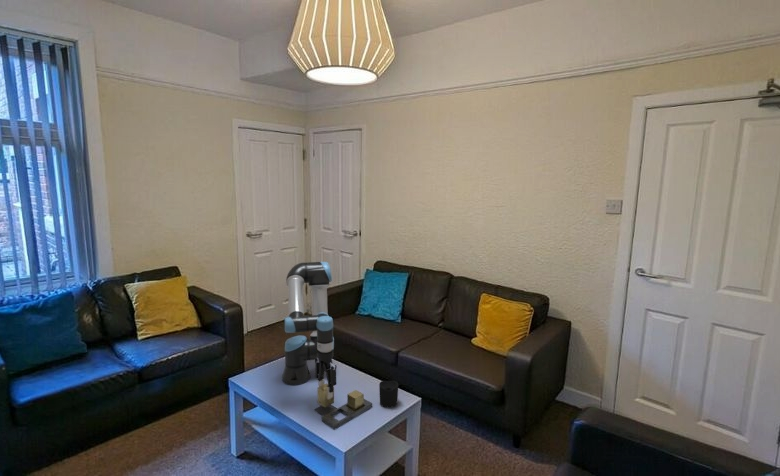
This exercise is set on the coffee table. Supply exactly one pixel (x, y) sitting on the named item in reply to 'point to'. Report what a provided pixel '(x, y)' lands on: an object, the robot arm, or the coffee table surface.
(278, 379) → the coffee table surface
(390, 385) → the pen holder
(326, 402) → the tan textured cube
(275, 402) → the coffee table surface
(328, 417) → the rail
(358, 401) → the block
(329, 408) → the rubber pad
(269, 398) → the coffee table surface
